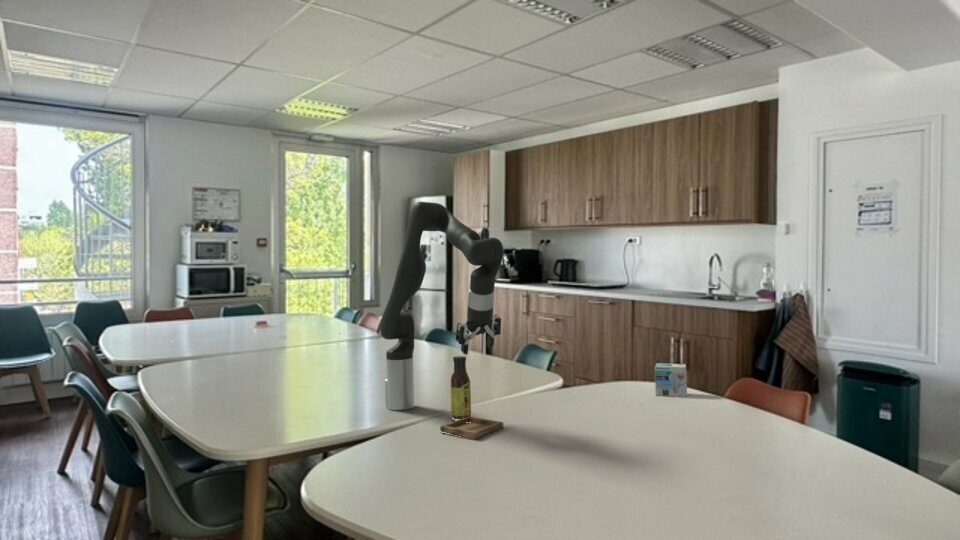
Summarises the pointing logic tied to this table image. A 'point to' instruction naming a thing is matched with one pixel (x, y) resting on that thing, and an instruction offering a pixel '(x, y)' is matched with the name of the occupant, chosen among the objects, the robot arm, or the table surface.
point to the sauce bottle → (460, 390)
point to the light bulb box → (670, 380)
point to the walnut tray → (472, 427)
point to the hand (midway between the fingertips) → (477, 350)
